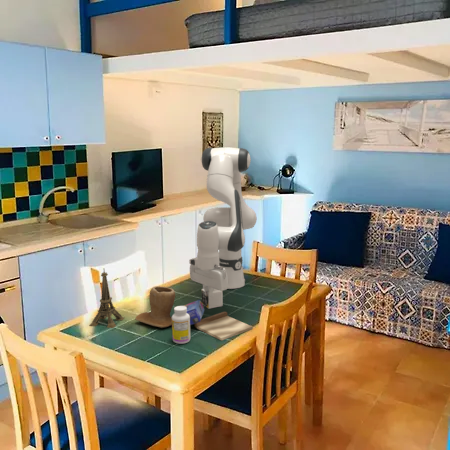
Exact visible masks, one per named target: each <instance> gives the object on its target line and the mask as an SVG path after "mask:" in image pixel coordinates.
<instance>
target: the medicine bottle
mask: <svg viewBox="0 0 450 450" xmlns="http://www.w3.org/2000/svg"><path fill="white" fill-rule="evenodd" d="M223 292H224V290H223V291H219V290H217V289H214V291H213V296H212V297H209V296H206V295H205V291H204V288H201V303H202V305H203V307H205V308H207V309H208V310H209V309H215V308H219V307H223V303H224V302H223V297H224V296H223Z"/></svg>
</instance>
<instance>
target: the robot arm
mask: <svg viewBox="0 0 450 450" xmlns="http://www.w3.org/2000/svg"><path fill="white" fill-rule="evenodd" d="M202 151H203V152H202V154H201V158H200V161H201V165H202V166H201V167H202V168H203V169H204V170H205V171H207V175H206V176H207V177H206V190H207V192H208V194H209V195H210V196H211V197H212V198H214V199H215V200H217V201H219V202H222V203H224V204H227V205H228V206H229V207H227V206H226V207H220V206H218V207H211V208H208V209H206V210H205V212H204V214H203V220H202V222H200V223H199V224H198V225H197V230H196V231H197V232H196V247H197V253H196V257H193V258H192V257H191V258H190V259H189V261H188V262H189V278H190V279H191V281H193V282H196V283H198V284H201V285H202V289H204V291H205V295H206V296H209V297H212V296H213V291H214V289H217V290H219V291H223V292H224V291H226V290H227V289H229V290H230V289H231V290H232V289H240V288H243V287H244V286H246V283H245V282H246V279H245V276H244V267H243V257H242V249H243V248H244V247H245V242H246V235H245V232H244V230H250V229H253V228H254V227H255V225H256V223H257V213H256V212H255V210H254V209H253V208H252V207H250V206H249V205H248V204H247V203H246V202H245V200H244V198H243V194H242V193H243V192H242V174H241V173H244V172H246V171H247V170H248V169H249V167H250V165H251V160H252V159H251V155H250V152H249V150H248V149H246V148H243V147H240V148H238V147H230V146H228V147H227V146H226V147H214V148H213V147H207V148H205V149H204V150H202Z"/></svg>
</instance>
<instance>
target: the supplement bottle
mask: <svg viewBox="0 0 450 450" xmlns="http://www.w3.org/2000/svg"><path fill="white" fill-rule="evenodd" d="M186 312H187V307H185V306H184V305H177V306H175V307H174V308H173V314H172V316H171V317H172V325H171V332H172V334H171V335H172V341H173V343H176V344H180V345H181V344H186V343H187V344H188V343H189V342H190V341H191V325H190V316H189V314H188V313H186Z"/></svg>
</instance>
